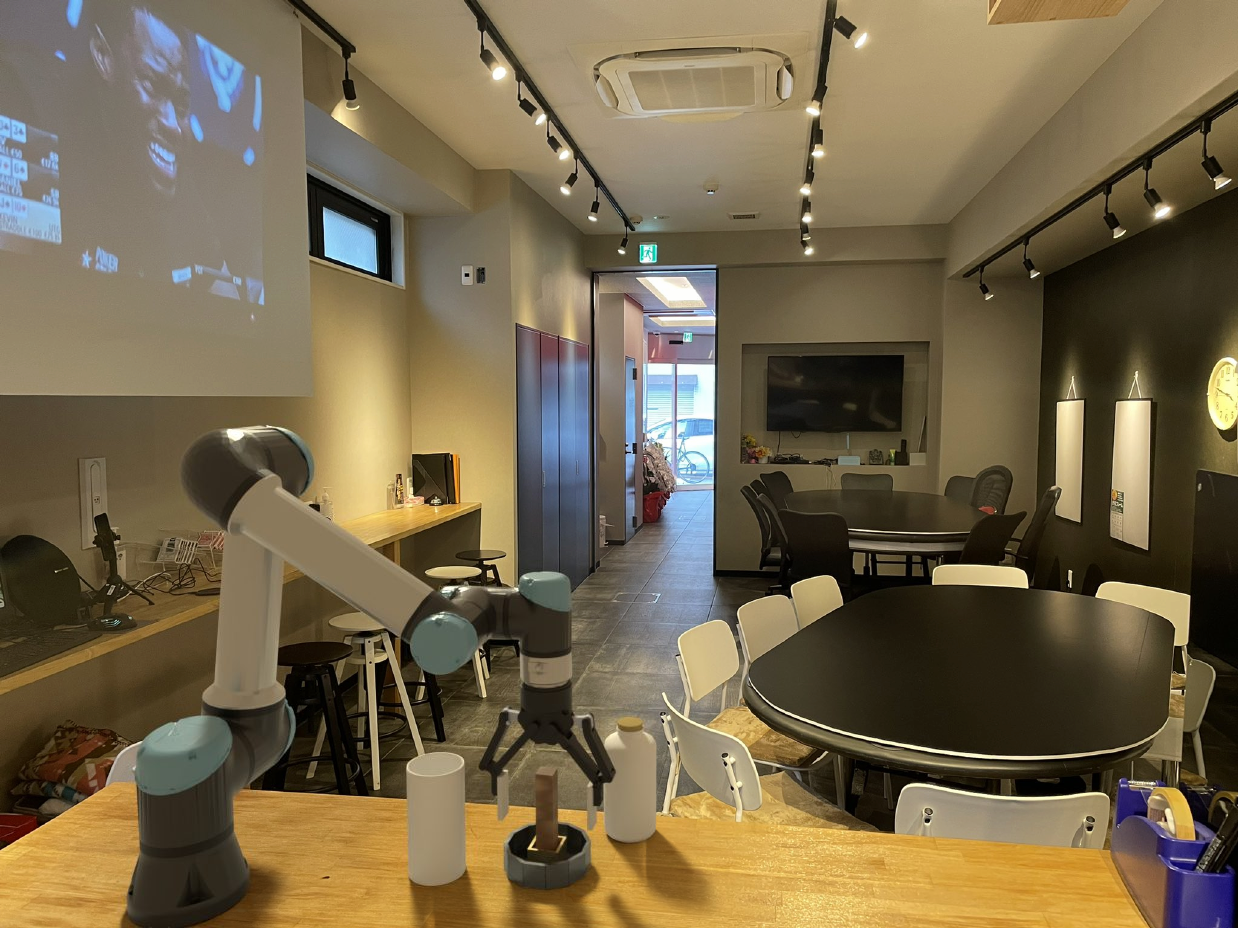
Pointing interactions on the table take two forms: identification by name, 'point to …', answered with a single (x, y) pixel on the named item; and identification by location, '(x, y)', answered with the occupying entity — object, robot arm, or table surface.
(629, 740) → the potion bottle
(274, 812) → the table surface
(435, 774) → the cup
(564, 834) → the bowl
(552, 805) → the square wooden stick
